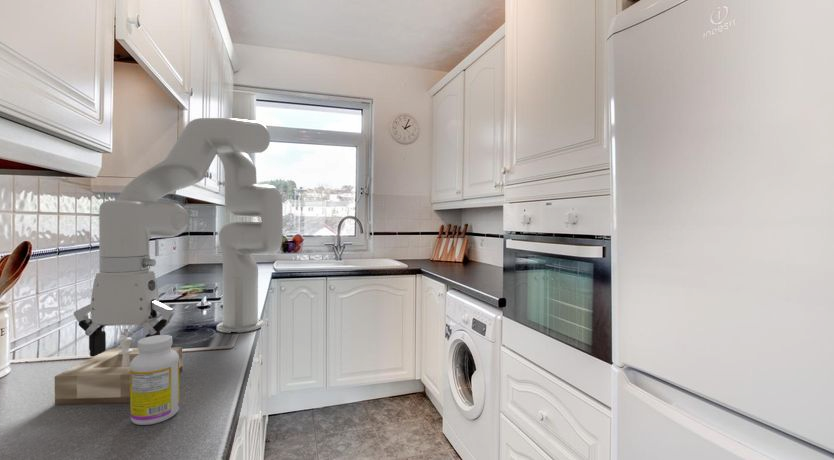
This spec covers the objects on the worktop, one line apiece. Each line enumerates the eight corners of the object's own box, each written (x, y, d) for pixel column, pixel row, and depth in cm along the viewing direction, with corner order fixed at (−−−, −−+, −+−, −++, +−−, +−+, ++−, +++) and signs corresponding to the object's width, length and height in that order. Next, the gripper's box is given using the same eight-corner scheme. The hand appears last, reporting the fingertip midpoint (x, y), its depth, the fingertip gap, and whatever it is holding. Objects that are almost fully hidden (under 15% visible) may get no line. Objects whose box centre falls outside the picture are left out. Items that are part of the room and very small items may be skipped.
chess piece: (124, 387, 70) (123, 334, 69) (102, 384, 71) (102, 331, 71) (148, 376, 75) (147, 326, 74) (127, 373, 76) (127, 324, 75)
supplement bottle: (153, 404, 66) (153, 331, 65) (188, 407, 65) (188, 333, 65) (119, 425, 59) (118, 344, 59) (158, 428, 58) (158, 346, 58)
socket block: (111, 372, 79) (111, 348, 79) (182, 370, 80) (182, 347, 80) (54, 404, 65) (54, 376, 65) (141, 402, 66) (141, 374, 66)
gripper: (182, 263, 77) (182, 346, 77) (90, 262, 75) (91, 347, 75) (162, 267, 69) (162, 359, 70) (59, 267, 67) (59, 362, 68)
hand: (125, 353), depth 72 cm, fingers open, 9 cm apart
